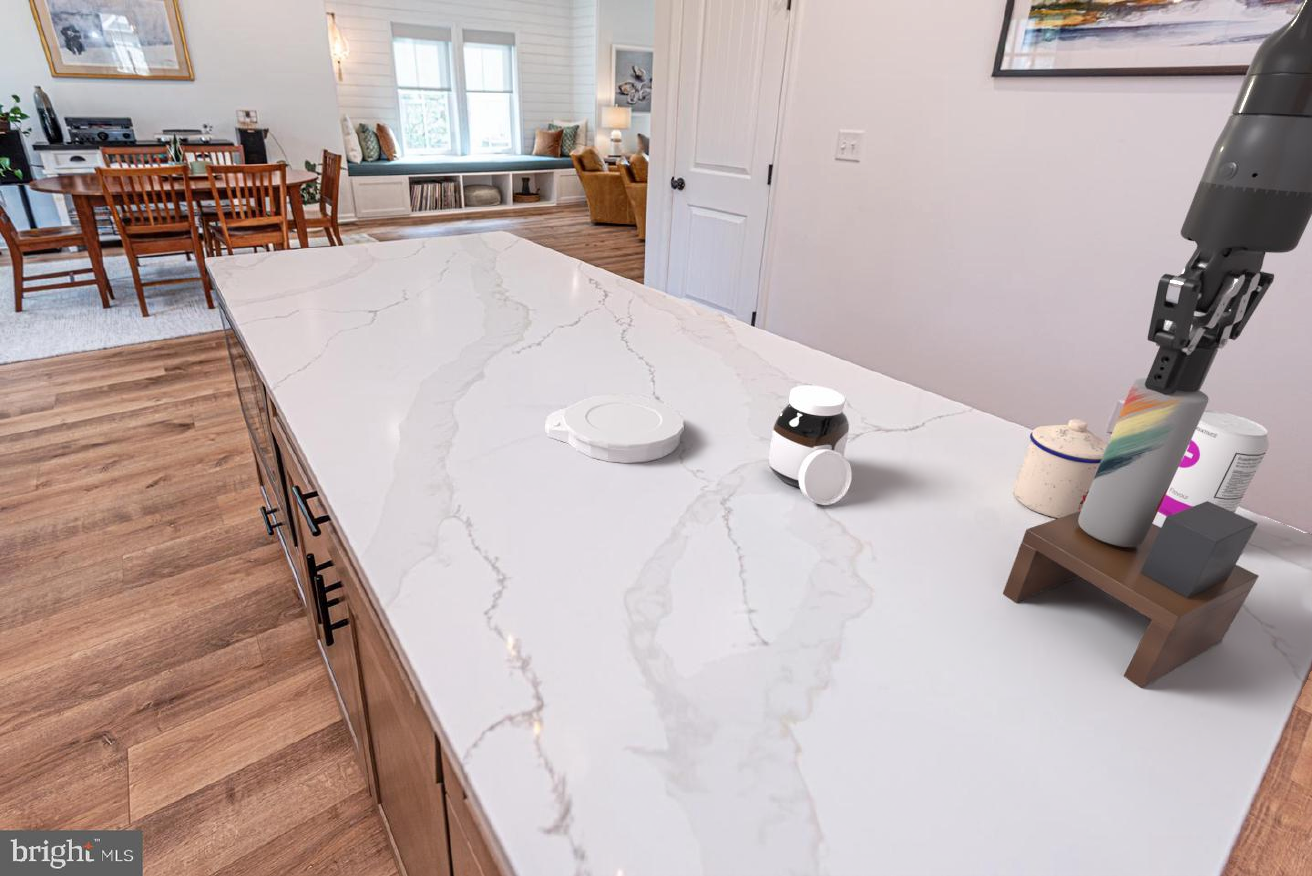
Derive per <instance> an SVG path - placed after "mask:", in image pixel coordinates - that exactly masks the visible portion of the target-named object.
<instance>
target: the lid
mask: <svg viewBox="0 0 1312 876" xmlns="http://www.w3.org/2000/svg"><path fill="white" fill-rule="evenodd" d="M684 428H685V419H684V417H683V415H682V414H681V413H680V411H679V410H677V409H676V408H675V407H673V406H672V405H670V404H668V403H665V402H663V401H660V400H658V399H655V398H651V397H646V396H641V395H635V394H621V393H616V394H600V395H595V396H589V397H586V398H584V399H583V398H582V399H581V400H578V401H576V402H573V404H571V405H570V406H566V407H564V408H560V409H558V410H555V411H553V412H552V413H550V414H549V415H548V416H547V417H546V420H545V429H544V430H545V432H546V434H547V436H548V438H550V439H553V440H556V441H559V442H562V443H566V444H569V445H570V446H571V447H572V448H573V449H575V450H576V452H578V453H581V454H582V455H585V456H587V457H589V458H591V459H596V460H600V461H604V462H608V463H618V464H619V463H620V464H633V463H634V464H635V463H646V462H651V461H655V460H658V459H659V460H660V459H662V458H664V457H666V456H667V455H670V454H672V453H673V452H674V451H675V450H676V448H677V447H679V445H680V442H681V441H680V439H681V434H682V433H683V432H684V431H685V430H684Z"/></svg>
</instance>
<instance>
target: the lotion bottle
mask: <svg viewBox="0 0 1312 876" xmlns="http://www.w3.org/2000/svg"><path fill="white" fill-rule="evenodd" d="M1218 347H1219V343H1218V342H1216V341H1212V340H1211V339H1210V338H1208V337H1206V336H1204V335H1202V336H1201V338H1200V340H1199V342H1198V344H1197V345H1196V347H1195V349H1194V351H1193V352H1192V353H1191V354H1190V355H1191V357H1190V360H1189V362H1188V364H1187V367H1186V369H1185V371H1184V374H1183V376H1182V378H1181V380H1180V383H1179V385H1178V387H1177V390H1176V392H1175V393H1173V394H1169V395H1164V394H1161V393H1159V392H1156V391H1153V390H1150V389H1147V388H1146V387H1145V382H1146V379H1147V377H1141V378H1137V379H1135V380H1134V381H1133V382H1132V384H1131V386H1130V389H1129V392H1128V394H1127V396H1126V398H1125V400H1124V403H1123V406H1122V408H1121V410H1120V413H1119V415H1118V418H1117V421H1116V423H1115V426H1114V428H1113V430H1112V433H1111V435H1110V438H1109V440H1108V442H1107V444H1108V445H1107V448H1106V450H1105V453H1104V455H1103V457H1102V460H1101V462H1100V465H1099V467H1098V470H1097V472H1096V475H1095V477H1094V480H1093V482H1092V485H1091V487H1090V490H1089V492H1088V495H1087V497H1086V500H1085V502H1084V505H1083V507H1082V510H1081V513H1080V515H1079V520H1078V523H1079V525H1080V527H1081V528H1082V529H1083V530H1084V531H1085V532H1086V533H1088V534H1089V535H1091V536H1092V537H1094V538H1096V539H1098V540H1101V541H1103V542H1106V543H1109V544H1112V545H1116V546H1121V547H1136V546H1138V545H1140V544H1142V542H1143V541H1144V539H1145V538H1146V536H1147V534H1148V532H1149V530H1150V528H1151V525H1152V523H1153V521H1154V519H1155V517H1156V515H1157V512H1158V510H1159V508H1160V506H1161V504H1162V502H1163V499H1164V497H1165V495H1166V493H1167V491H1168V489H1169V486H1170V484H1171V482H1172V480H1173V478H1174V476H1175V473H1176V471H1177V469H1178V467H1179V465H1180V463H1181V461H1182V458H1183V456H1184V454H1185V452H1186V450H1187V448H1188V445H1189V443H1190V441H1191V439H1192V437H1193V435H1194V432H1195V430H1196V428H1197V426H1198V424H1199V421H1200V419H1201V417H1202V415H1203V413H1204V410H1206V408H1207V406H1208V403H1209V401H1210V399H1209V396H1208V395H1207V394H1206V393H1205V392H1203V391H1201V389H1202V387H1203V385H1202V384H1204V383H1205V380H1206V378H1207V376H1208V374H1207V373H1209V372H1208V371H1210V369H1211V367H1212V365H1213V363H1212V361H1213V362H1214V360H1215V358H1216V356H1215V354H1216V352H1217V353H1218V351H1219V348H1218ZM1217 350H1218V351H1217ZM1216 355H1217V354H1216ZM1214 357H1215V358H1214ZM1213 359H1214V360H1213ZM1211 364H1212V365H1211ZM1210 366H1211V367H1210ZM1209 368H1210V369H1209ZM1206 375H1207V376H1206ZM1205 377H1206V378H1205ZM1203 382H1204V383H1203Z"/></svg>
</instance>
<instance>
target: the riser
mask: <svg viewBox="0 0 1312 876" xmlns="http://www.w3.org/2000/svg"><path fill="white" fill-rule="evenodd" d="M1080 513H1081V511H1079V512H1076V513H1073V514H1070V515H1067V516H1064V517H1061V518H1055V519H1053V520H1049V521H1046V522H1044V523H1041V524H1038V525H1035V526H1032V527H1029V528H1026V530H1025V531H1024V535H1023V537H1022V540H1021V542H1020V545H1019V546H1020V547H1019V548H1018V551H1017V554H1016V557H1015V559H1014V561H1013V563H1012V564H1013V565H1012V567H1011V570H1010V573H1009V575H1008V579H1007V580H1006V583H1005V587H1004V589H1003V591H1002V595H1004V597H1005V596H1006V597H1007V598H1008V599H1010V600H1011V601H1012V602H1014V603H1019V602H1021V601H1024V600H1026V599H1029V598H1031V597H1034V596H1036V595H1039V594H1041V593H1044V592H1046V591H1049V590H1050V589H1053V588H1055V587H1056V588H1057V587H1058V586H1061V585H1063V584H1066V583H1067V582H1070V581H1072V580H1075V579H1077V578H1082V579H1083V580H1085V581H1087V582H1089V583H1090V584H1091V585H1094V586H1095V587H1096V588H1099V589H1100V590H1101V591H1104V592H1105V593H1107V594H1109V595H1110V596H1112V597H1114V598H1115V599H1117V600H1118V601H1119V602H1122V603H1123V604H1125V605H1126V606H1129V607H1130V608H1132V609H1133V610H1135V611H1137V612H1138V613H1140V614H1142V615H1143V616H1144V617H1145V616H1146V618H1149V619H1150V621H1149V624H1148V626H1147V628H1146V630H1145V632H1144V634H1143V636H1142V638H1141V640H1140V642H1139V644H1138V646H1137V648H1136V650H1135V652H1134V654H1133V656H1132V657H1131V660H1130V662H1129V664H1128V666H1127V668H1126V670H1125V672H1124V674H1123V677H1124V678H1126V679H1127V680H1129V681H1130V682H1131V683H1133V684H1134V685H1136V686H1138V687H1139V688H1141V689H1142V688H1145V687H1146V686H1148V685H1149V684H1151V683H1153V682H1155V681H1156V680H1159V679H1160V678H1161V677H1163V676H1165V675H1167V674H1168V673H1170V672H1172V671H1173V670H1175V669H1177V668H1179V667H1180V666H1182V665H1184V664H1186V663H1188V662H1189V661H1191V660H1193V659H1195V658H1196V657H1198V656H1200V655H1202V654H1204V653H1205V652H1207V651H1209V650H1210V649H1212V648H1214V647H1215V646H1218V645H1219V644H1220V643H1222V642H1223V640H1224V638H1225V637H1226V635H1227V633H1228V631H1229V629H1231V626H1232V624H1233V622H1234V621H1235V619H1236V618H1237V615H1238V613H1239V612H1240V610H1241V609H1242V606H1244V603H1245V601H1246V599H1247V598H1248V596H1249V594H1250V593H1251V591H1252V589H1253V588H1254V586H1255V584H1256V582H1257V580H1258V578H1259V576H1260V575H1258V574H1256V573H1254V572H1252V571H1250V570H1248V569H1246V568H1244V567H1242V566H1240V565H1238V564H1236V565H1235V567H1234V568H1233V570H1232V572H1231V574H1230V576H1229V578H1228V579H1226V580H1224V581H1222V582H1220V583H1218V584H1216V585H1214V586H1212V587H1210V588H1208V589H1206V590H1204V591H1202V592H1200V593H1198V594H1196V595H1194V596H1192V597H1190V598H1186V597H1184V596H1182V595H1180V594H1178V593H1177V592H1175V591H1173V590H1171V589H1169V588H1168V587H1166V586H1164V585H1162V584H1160V583H1158V582H1157V581H1155V580H1153V579H1151V578H1149V577H1148V576H1146V575H1144V574H1142V573H1141V570H1142V568H1143V565H1144V563H1145V561H1146V559H1147V557H1148V555H1149V553H1150V551H1151V548H1152V546H1153V544H1154V542H1155V540H1156V538H1157V536H1158V534H1159V531H1160V529H1161V527H1159V526H1157V525H1155V524H1153V523H1152V525H1151V528H1150V530H1149V532H1148V534H1147V536H1146V538H1145V539H1144V541H1143V542H1142V544H1140V545H1138V546H1136V547H1121V546H1116V545H1112V544H1109V543H1106V542H1103V541H1101V540H1098V539H1096V538H1094V537H1092V536H1091V535H1089V534H1088V533H1086V532H1085V531H1084V530H1083V529H1082V528H1081V527H1080V525H1079V523H1078V520H1079V515H1080Z"/></svg>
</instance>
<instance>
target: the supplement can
mask: <svg viewBox="0 0 1312 876" xmlns="http://www.w3.org/2000/svg"><path fill="white" fill-rule="evenodd" d="M1268 433H1269V430H1268V429H1267V428H1266V427H1265V426H1263V425H1261V424H1260V423H1258V422H1256V421H1253V420H1252V419H1249V418H1246V417H1242V416H1239V415H1236V414H1232V413H1228V412H1224V411H1218V410H1211V409H1210V410H1209V409H1205V410H1204V413H1203V415H1202V417H1201V419H1200V421H1199V424H1198V426H1197V428H1196V430H1195V432H1194V435H1193V437H1192V439H1191V441H1190V443H1189V445H1188V448H1187V450H1186V452H1185V454H1184V456H1183V458H1182V461H1181V463H1180V465H1179V467H1178V469H1177V471H1176V473H1175V476H1174V478H1173V480H1172V482H1171V484H1170V486H1169V489H1168V491H1167V493H1166V495H1165V497H1164V499H1163V502H1162V504H1161V506H1160V508H1159V510H1158V512H1157V515H1156V517H1155V519H1154V521H1153V524H1155V525H1157V526H1159V527H1162V525H1163V523H1164V521H1165V519H1166V517H1167V516H1170V515H1172V514H1175V513H1178V512H1180V511H1183V510H1185V509H1188V508H1191V507H1193V506H1196V505H1198V504H1201V503H1204V502H1206V501H1208V502H1211V503H1213V504H1215V505H1218V506H1220V507H1222V508H1224V509H1227V510H1229V511H1231V512H1233V513H1236V511H1237V509H1238V507H1239V505H1240V503H1241V502H1242V499H1243V498H1244V496H1245V493H1246V491H1247V490H1248V488H1249V486H1250V484H1251V482H1252V480H1253V479H1254V476H1255V474H1256V472H1257V471H1258V469H1259V467H1260V465H1261V463H1262V461H1263V460H1264V457H1265V456H1266V453H1267V452H1268V449H1269V446H1270V443H1269V439H1268Z"/></svg>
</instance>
